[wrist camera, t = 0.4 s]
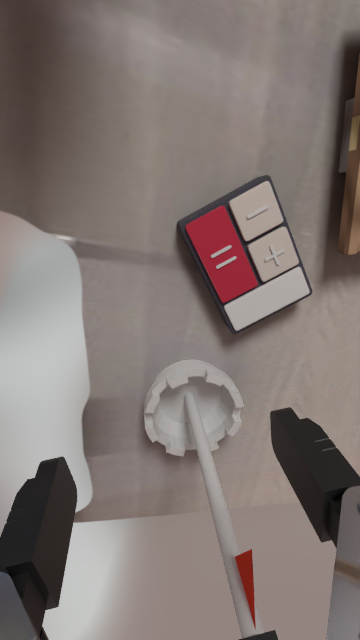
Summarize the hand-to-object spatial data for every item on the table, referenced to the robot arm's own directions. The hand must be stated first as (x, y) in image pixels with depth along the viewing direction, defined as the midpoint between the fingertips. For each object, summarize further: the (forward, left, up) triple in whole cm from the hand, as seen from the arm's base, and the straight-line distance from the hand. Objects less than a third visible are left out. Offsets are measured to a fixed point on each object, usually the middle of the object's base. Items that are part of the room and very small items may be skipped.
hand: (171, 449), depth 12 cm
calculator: (-1, +12, -29) cm, 31 cm away
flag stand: (+18, +4, -29) cm, 34 cm away
